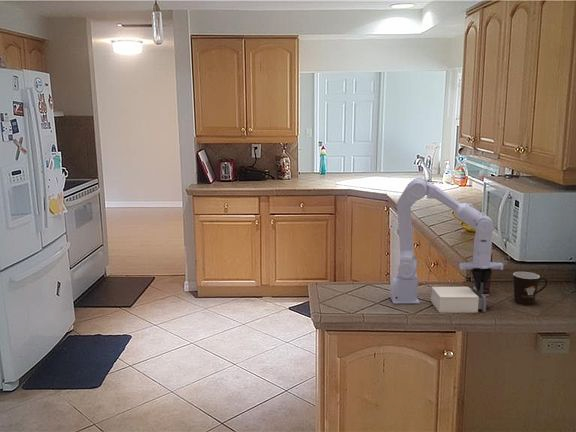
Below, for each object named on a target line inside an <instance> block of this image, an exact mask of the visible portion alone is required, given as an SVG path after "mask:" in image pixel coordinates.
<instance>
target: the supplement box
mask: <svg viewBox="0 0 576 432" xmlns="http://www.w3.org/2000/svg"><path fill="white" fill-rule="evenodd" d="M491 262H493V254H492V253H491ZM491 279H492V274H491V275H490V277H489V278H488V280H487V282H486V285H485V288H484V290H483V295H484V296H485V297H490V292H491V291H490V290H491ZM473 280H474V279H473ZM473 287H476V285H475V280H474V282H473Z"/></svg>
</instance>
